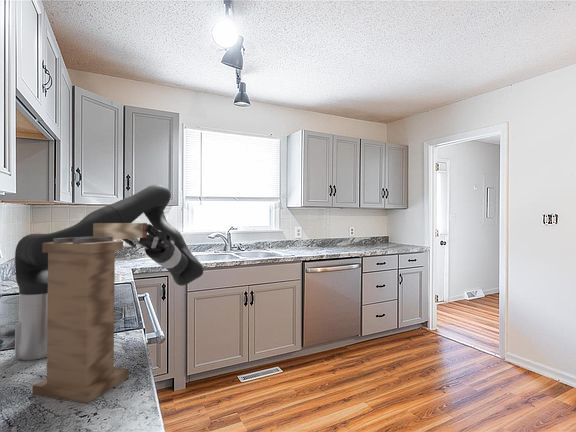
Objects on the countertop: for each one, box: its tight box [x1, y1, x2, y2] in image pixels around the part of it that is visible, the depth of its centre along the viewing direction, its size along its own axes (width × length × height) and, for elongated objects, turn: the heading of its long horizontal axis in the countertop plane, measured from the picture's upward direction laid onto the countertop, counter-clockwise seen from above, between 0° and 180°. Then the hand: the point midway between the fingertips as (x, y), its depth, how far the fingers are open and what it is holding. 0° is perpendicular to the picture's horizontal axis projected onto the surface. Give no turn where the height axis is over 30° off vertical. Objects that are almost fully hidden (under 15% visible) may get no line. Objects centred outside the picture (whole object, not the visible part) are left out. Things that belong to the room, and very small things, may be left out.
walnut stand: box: [32, 237, 130, 404], centre depth 76 cm, size 12×14×33 cm
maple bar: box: [93, 222, 148, 241], centre depth 88 cm, size 16×3×4 cm, turn 166°
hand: (133, 226), depth 93 cm, fingers open, 8 cm apart
